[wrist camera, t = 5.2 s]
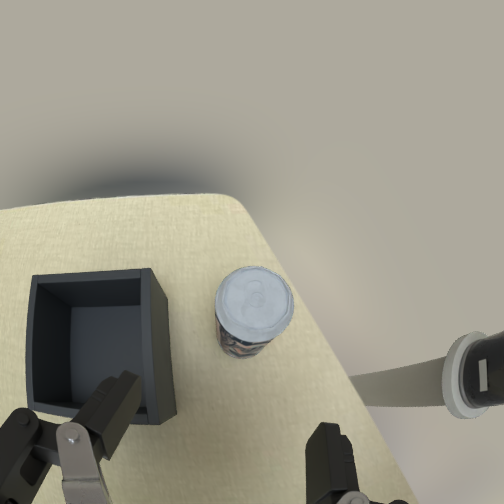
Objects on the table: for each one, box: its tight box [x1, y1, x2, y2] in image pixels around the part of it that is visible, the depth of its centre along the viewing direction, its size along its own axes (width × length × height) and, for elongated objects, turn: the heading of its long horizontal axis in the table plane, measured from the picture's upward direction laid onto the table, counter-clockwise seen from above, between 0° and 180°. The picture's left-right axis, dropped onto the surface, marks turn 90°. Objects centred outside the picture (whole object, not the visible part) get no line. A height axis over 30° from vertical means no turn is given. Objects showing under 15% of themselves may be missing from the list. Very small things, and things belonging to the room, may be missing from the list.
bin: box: [25, 268, 177, 425], centre depth 20 cm, size 12×12×8 cm
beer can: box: [215, 266, 294, 359], centre depth 21 cm, size 5×5×12 cm
